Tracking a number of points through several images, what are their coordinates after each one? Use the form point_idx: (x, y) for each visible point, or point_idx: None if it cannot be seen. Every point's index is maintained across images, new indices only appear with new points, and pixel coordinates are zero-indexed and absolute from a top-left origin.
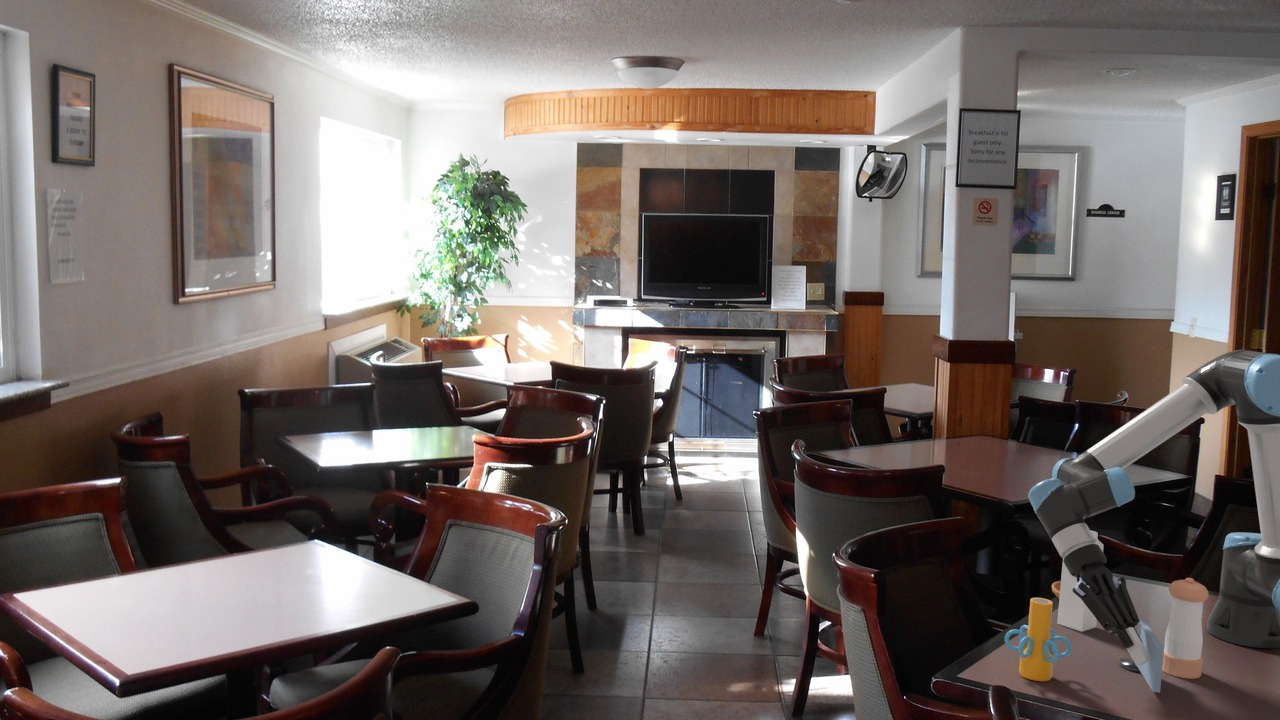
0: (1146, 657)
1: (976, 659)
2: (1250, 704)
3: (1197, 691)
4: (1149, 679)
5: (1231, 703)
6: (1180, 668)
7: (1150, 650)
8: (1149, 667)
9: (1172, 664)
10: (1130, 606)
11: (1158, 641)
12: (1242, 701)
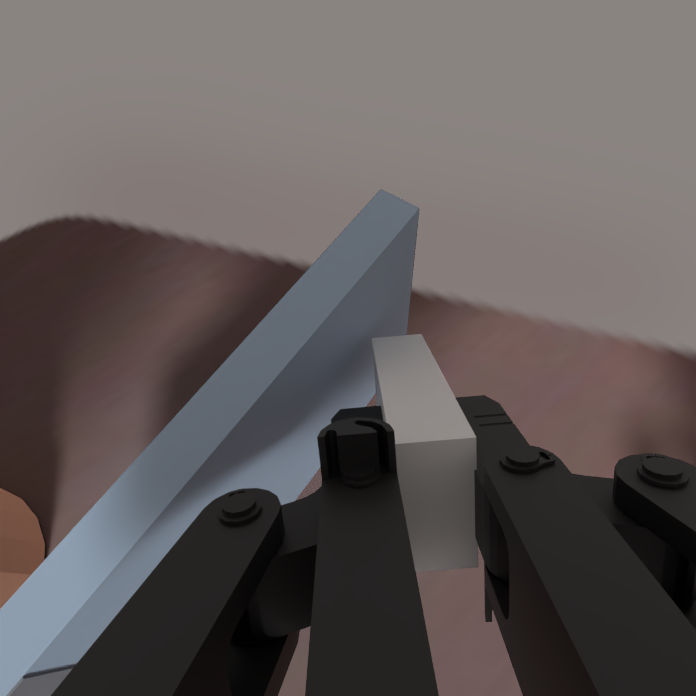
0: (408, 339)
1: None
2: (74, 247)
3: (133, 378)
4: (358, 403)
5: (128, 268)
6: (8, 515)
7: (326, 368)
8: (343, 399)
9: (8, 554)
10: (151, 681)
11: (299, 287)
12: (72, 270)
